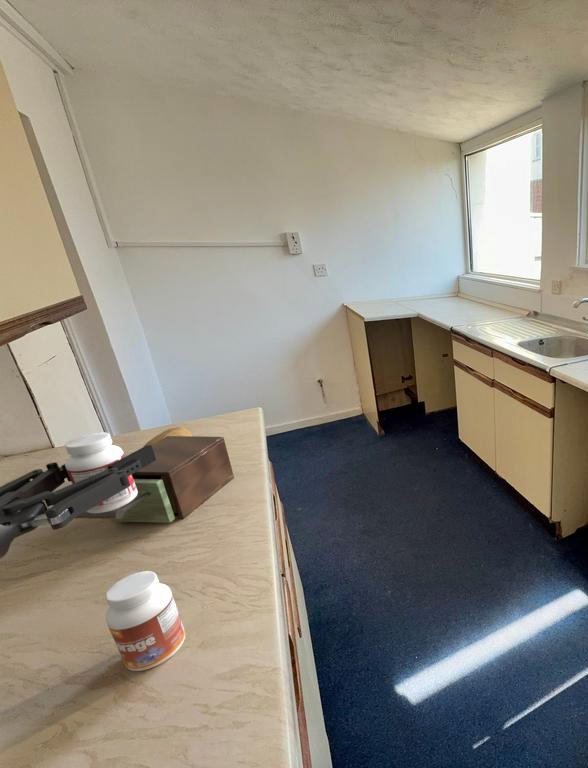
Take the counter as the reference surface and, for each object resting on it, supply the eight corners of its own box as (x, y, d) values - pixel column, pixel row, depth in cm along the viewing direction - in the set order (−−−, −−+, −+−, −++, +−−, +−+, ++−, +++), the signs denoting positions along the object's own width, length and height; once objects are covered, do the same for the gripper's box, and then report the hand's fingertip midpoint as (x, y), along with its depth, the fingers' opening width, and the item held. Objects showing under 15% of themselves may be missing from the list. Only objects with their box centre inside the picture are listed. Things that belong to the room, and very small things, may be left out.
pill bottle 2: (112, 675, 49) (80, 608, 46) (149, 630, 55) (124, 567, 51) (165, 671, 50) (138, 604, 46) (197, 626, 56) (175, 564, 52)
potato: (208, 446, 105) (200, 419, 102) (185, 474, 92) (176, 443, 90) (163, 452, 102) (154, 424, 99) (134, 481, 90) (122, 450, 87)
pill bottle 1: (106, 492, 64) (81, 431, 61) (148, 489, 65) (127, 428, 61) (72, 517, 58) (43, 450, 55) (119, 513, 59) (94, 447, 56)
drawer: (137, 548, 69) (121, 506, 66) (73, 547, 69) (54, 505, 66) (220, 482, 88) (210, 447, 85) (170, 481, 88) (158, 446, 85)
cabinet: (183, 519, 77) (168, 472, 74) (120, 518, 78) (102, 471, 74) (234, 477, 91) (223, 436, 88) (180, 477, 91) (167, 435, 88)
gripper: (-135, 582, 44) (81, 471, 66) (33, 586, 44) (194, 473, 66) (-173, 527, 42) (65, 430, 64) (4, 530, 41) (182, 432, 63)
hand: (130, 452), depth 65 cm, fingers closed on pill bottle 1, 6 cm apart
